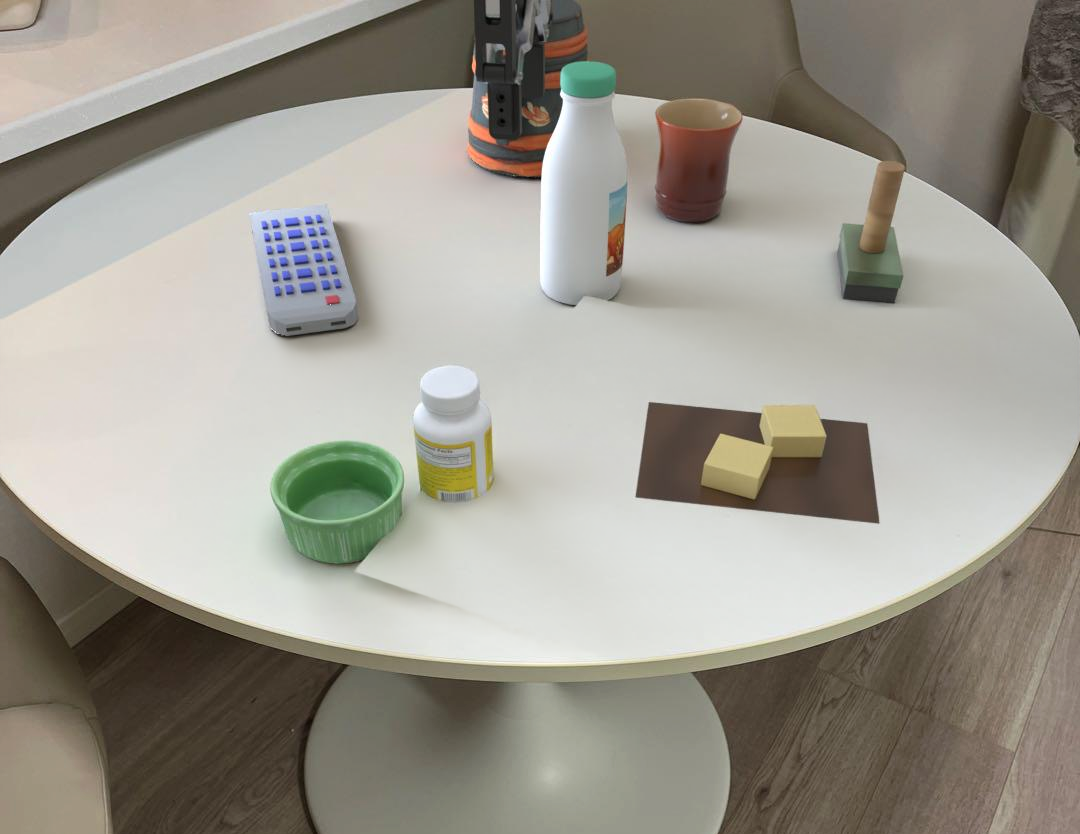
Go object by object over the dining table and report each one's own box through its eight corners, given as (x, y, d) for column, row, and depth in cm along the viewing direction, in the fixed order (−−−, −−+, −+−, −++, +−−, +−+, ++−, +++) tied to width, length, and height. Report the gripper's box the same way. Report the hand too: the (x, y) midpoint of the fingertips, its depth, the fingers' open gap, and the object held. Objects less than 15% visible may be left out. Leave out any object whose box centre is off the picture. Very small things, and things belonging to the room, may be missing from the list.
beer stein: (570, 204, 114) (576, 3, 100) (440, 189, 116) (428, -9, 103) (603, 137, 127) (612, -47, 114) (486, 126, 130) (481, -56, 116)
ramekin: (254, 549, 73) (242, 500, 70) (324, 474, 79) (317, 427, 76) (367, 586, 70) (360, 537, 67) (431, 507, 76) (427, 458, 73)
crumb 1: (769, 468, 77) (773, 446, 76) (754, 500, 75) (759, 478, 73) (717, 454, 79) (720, 432, 77) (700, 485, 76) (703, 463, 75)
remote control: (329, 221, 110) (327, 201, 109) (361, 329, 94) (359, 307, 93) (252, 230, 109) (248, 209, 107) (271, 341, 93) (267, 318, 91)
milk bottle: (584, 317, 96) (593, 92, 83) (522, 288, 100) (522, 68, 87) (637, 286, 100) (654, 68, 87) (576, 260, 104) (583, 47, 91)
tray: (863, 438, 83) (867, 422, 82) (875, 539, 74) (879, 523, 73) (647, 417, 85) (648, 401, 84) (633, 513, 76) (635, 496, 75)
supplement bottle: (460, 461, 80) (454, 350, 74) (509, 494, 77) (507, 381, 71) (404, 492, 77) (393, 380, 71) (453, 528, 74) (446, 414, 68)
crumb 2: (810, 426, 81) (815, 404, 80) (821, 457, 78) (827, 436, 77) (759, 426, 81) (763, 404, 80) (768, 457, 78) (772, 436, 77)
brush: (886, 254, 106) (914, 146, 98) (896, 304, 98) (926, 190, 91) (836, 250, 106) (859, 142, 99) (841, 299, 99) (867, 186, 92)
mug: (704, 236, 108) (716, 137, 101) (631, 214, 112) (638, 116, 105) (757, 197, 116) (772, 101, 109) (688, 177, 119) (698, 83, 112)
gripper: (551, -123, 60) (551, 157, 71) (590, -164, 71) (584, 86, 82) (424, -127, 61) (443, 150, 72) (481, -166, 72) (490, 81, 83)
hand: (518, 116), depth 77 cm, fingers open, 8 cm apart
